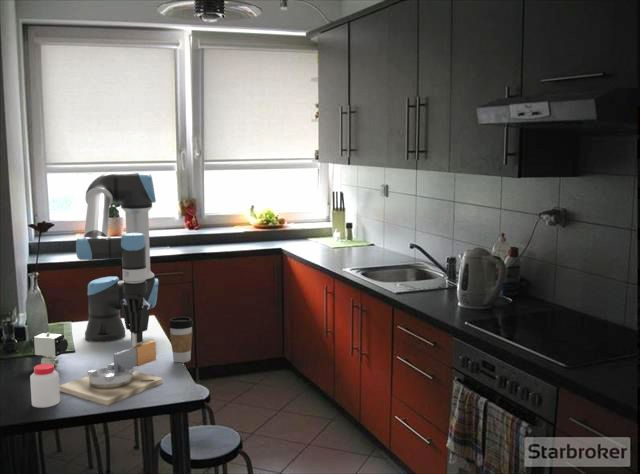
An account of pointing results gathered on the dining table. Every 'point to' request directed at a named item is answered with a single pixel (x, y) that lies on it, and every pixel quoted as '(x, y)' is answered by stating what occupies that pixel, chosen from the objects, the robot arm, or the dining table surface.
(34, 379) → the pill bottle
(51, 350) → the pneumatic valve
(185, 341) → the coffee cup
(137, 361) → the silver saucepan
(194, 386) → the dining table surface
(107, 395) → the light wood square board
